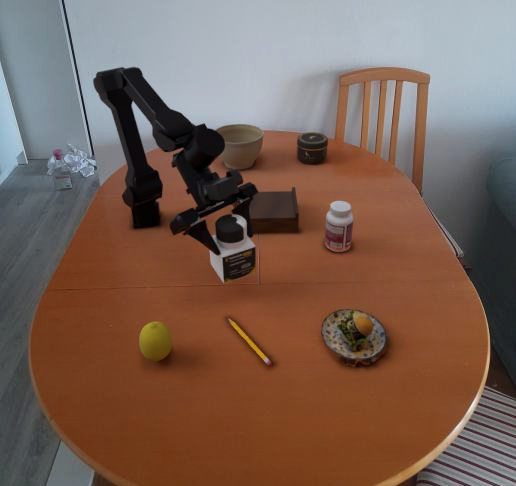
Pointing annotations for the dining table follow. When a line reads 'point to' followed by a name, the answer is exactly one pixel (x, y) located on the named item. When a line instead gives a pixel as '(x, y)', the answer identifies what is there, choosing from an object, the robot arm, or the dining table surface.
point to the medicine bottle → (233, 249)
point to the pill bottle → (339, 226)
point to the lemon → (155, 341)
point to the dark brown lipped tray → (274, 212)
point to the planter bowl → (240, 145)
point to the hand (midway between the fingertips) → (235, 245)
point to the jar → (312, 147)
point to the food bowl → (354, 336)
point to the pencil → (250, 343)
